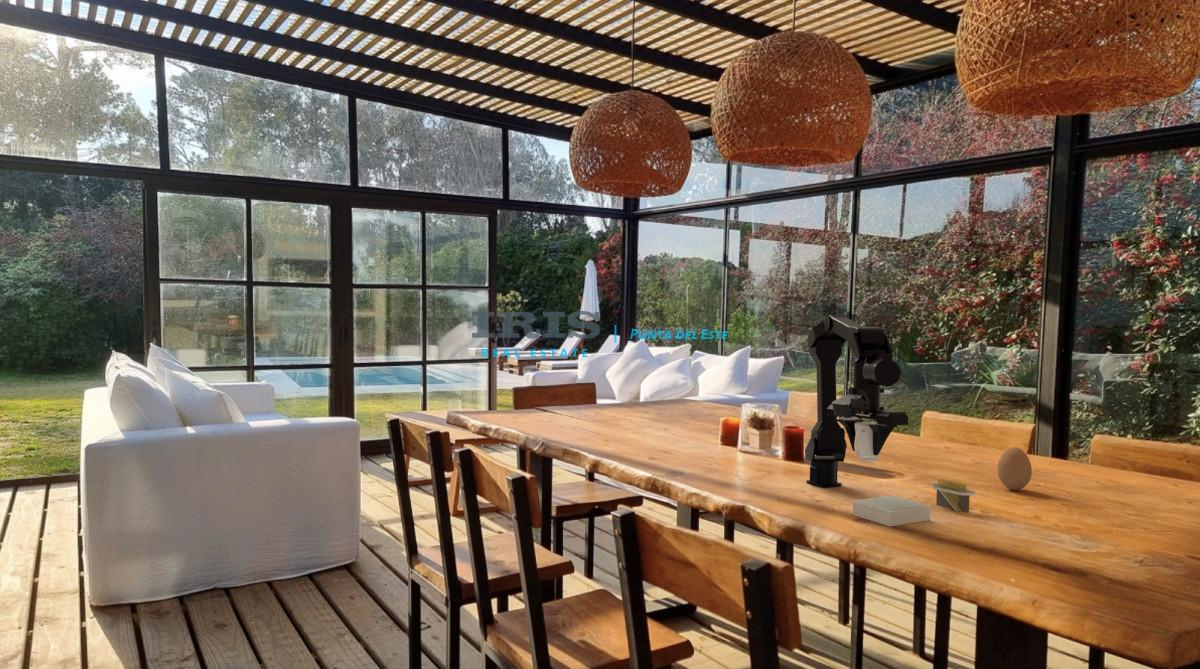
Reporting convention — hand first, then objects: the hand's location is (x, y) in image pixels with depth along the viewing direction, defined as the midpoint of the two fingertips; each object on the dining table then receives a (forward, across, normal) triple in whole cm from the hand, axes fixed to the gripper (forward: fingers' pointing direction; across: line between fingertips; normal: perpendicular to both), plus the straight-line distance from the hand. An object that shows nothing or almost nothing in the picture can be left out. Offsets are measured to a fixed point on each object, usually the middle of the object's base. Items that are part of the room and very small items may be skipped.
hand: (865, 453), depth 165 cm
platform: (+13, +7, +19) cm, 24 cm away
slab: (+13, +7, 0) cm, 15 cm away
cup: (+2, 0, 0) cm, 2 cm away
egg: (+12, +1, +51) cm, 52 cm away
